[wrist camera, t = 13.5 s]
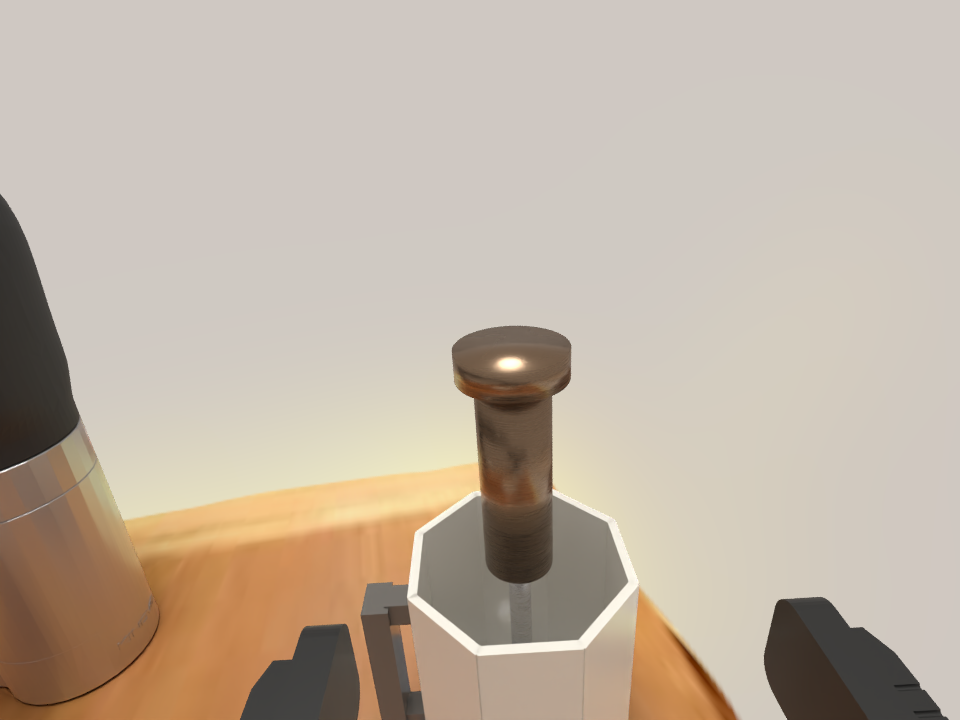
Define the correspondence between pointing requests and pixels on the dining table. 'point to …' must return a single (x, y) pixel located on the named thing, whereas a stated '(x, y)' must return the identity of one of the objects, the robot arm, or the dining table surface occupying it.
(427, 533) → the coffee press
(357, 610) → the dining table surface
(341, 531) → the dining table surface
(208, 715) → the dining table surface
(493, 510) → the plunger
